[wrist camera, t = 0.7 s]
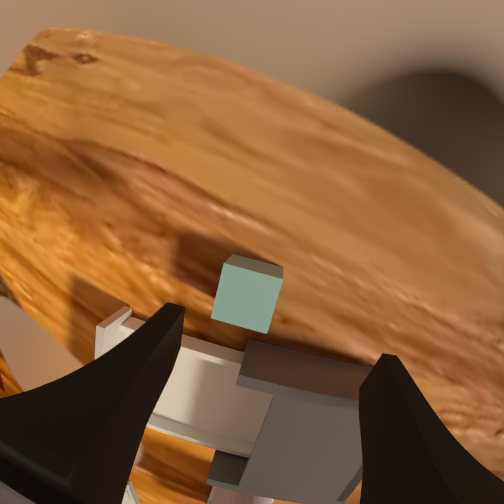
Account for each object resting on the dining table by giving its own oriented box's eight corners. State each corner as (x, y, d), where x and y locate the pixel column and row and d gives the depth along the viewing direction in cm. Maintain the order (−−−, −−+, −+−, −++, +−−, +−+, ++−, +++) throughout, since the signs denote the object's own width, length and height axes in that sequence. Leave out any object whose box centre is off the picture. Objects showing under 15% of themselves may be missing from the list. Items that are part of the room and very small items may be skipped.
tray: (257, 450, 31) (253, 485, 26) (116, 405, 32) (94, 432, 27) (293, 356, 29) (295, 388, 23) (125, 305, 30) (96, 325, 24)
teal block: (269, 314, 29) (267, 334, 25) (221, 301, 29) (210, 318, 25) (283, 267, 28) (283, 279, 24) (233, 253, 28) (223, 263, 24)
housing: (334, 465, 31) (340, 506, 24) (217, 442, 32) (205, 483, 25) (385, 369, 29) (406, 407, 22) (248, 338, 29) (238, 374, 23)
